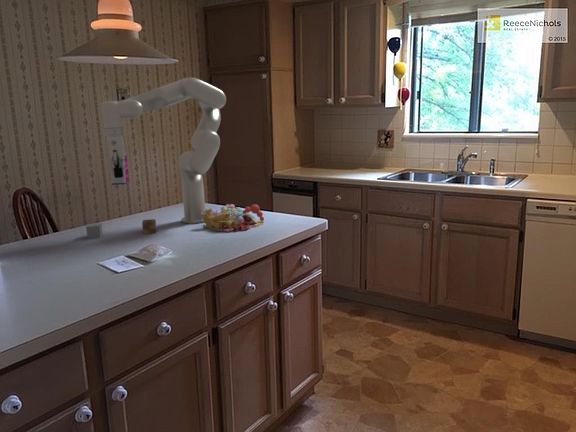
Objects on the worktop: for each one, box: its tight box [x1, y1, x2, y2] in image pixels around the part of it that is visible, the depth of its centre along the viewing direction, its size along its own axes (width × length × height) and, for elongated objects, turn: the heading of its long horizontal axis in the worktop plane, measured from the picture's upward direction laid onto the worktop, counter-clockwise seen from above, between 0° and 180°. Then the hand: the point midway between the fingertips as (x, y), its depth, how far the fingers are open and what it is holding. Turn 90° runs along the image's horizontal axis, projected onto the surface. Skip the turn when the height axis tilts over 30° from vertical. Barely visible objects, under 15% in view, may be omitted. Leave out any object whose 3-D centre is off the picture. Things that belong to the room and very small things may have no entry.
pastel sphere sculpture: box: [201, 203, 265, 232], centre depth 211 cm, size 25×24×9 cm
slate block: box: [85, 222, 104, 239], centre depth 200 cm, size 5×5×5 cm
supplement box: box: [108, 154, 130, 186], centre depth 200 cm, size 6×6×12 cm
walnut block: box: [141, 218, 157, 235], centre depth 204 cm, size 5×5×5 cm
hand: (120, 175), depth 200 cm, fingers closed on supplement box, 6 cm apart
